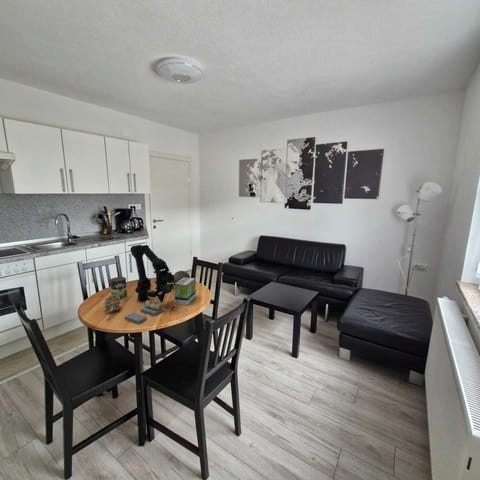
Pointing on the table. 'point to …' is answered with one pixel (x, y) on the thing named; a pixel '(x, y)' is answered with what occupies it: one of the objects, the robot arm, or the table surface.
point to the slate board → (139, 318)
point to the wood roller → (153, 305)
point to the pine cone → (112, 303)
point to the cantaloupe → (180, 276)
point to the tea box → (185, 291)
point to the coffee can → (119, 287)
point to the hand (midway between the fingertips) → (161, 302)
